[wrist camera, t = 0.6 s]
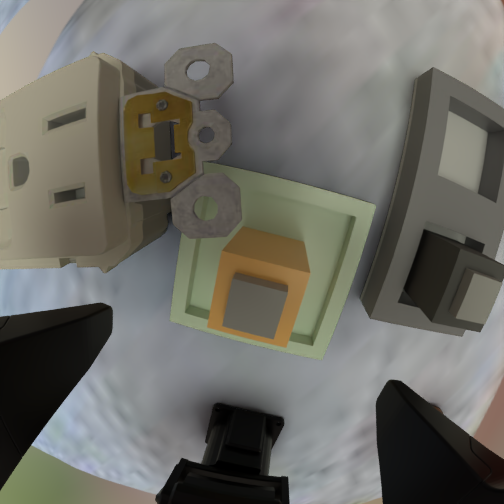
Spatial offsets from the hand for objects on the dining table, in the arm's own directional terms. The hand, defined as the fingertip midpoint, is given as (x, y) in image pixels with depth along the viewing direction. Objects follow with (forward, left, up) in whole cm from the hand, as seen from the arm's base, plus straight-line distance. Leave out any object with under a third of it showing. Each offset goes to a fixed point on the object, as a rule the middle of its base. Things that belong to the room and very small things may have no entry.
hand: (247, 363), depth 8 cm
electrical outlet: (+3, +16, -12) cm, 20 cm away
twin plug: (+2, -11, -11) cm, 16 cm away
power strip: (+6, -11, -12) cm, 17 cm away
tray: (-1, 0, -12) cm, 12 cm away
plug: (-1, 0, -11) cm, 11 cm away
